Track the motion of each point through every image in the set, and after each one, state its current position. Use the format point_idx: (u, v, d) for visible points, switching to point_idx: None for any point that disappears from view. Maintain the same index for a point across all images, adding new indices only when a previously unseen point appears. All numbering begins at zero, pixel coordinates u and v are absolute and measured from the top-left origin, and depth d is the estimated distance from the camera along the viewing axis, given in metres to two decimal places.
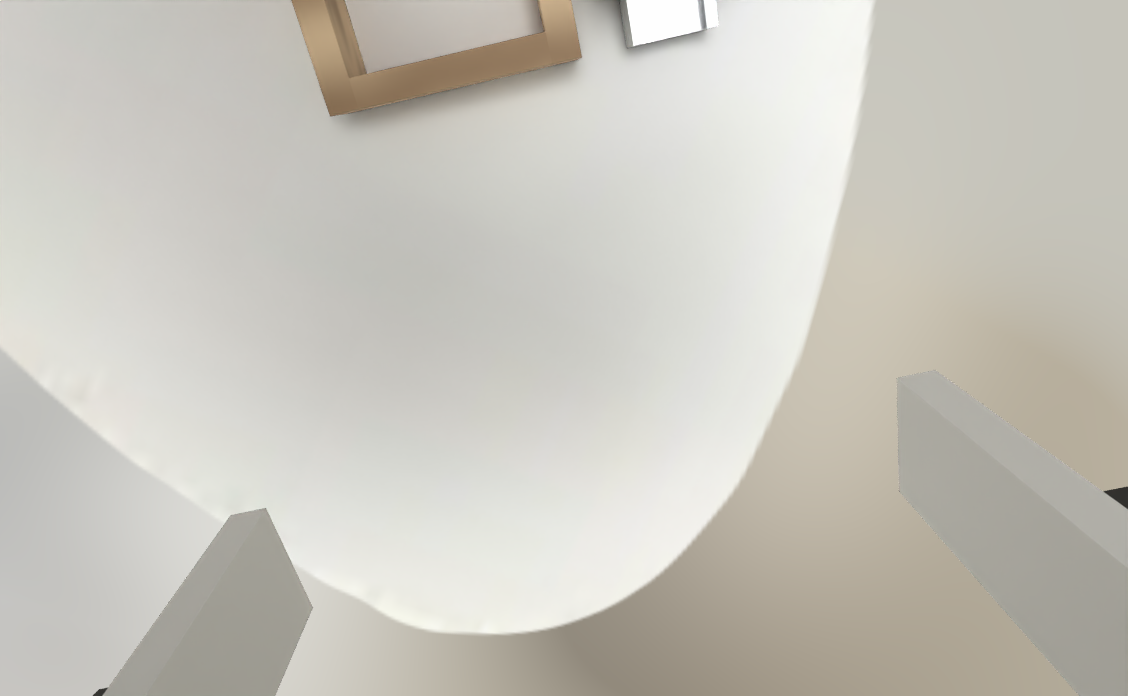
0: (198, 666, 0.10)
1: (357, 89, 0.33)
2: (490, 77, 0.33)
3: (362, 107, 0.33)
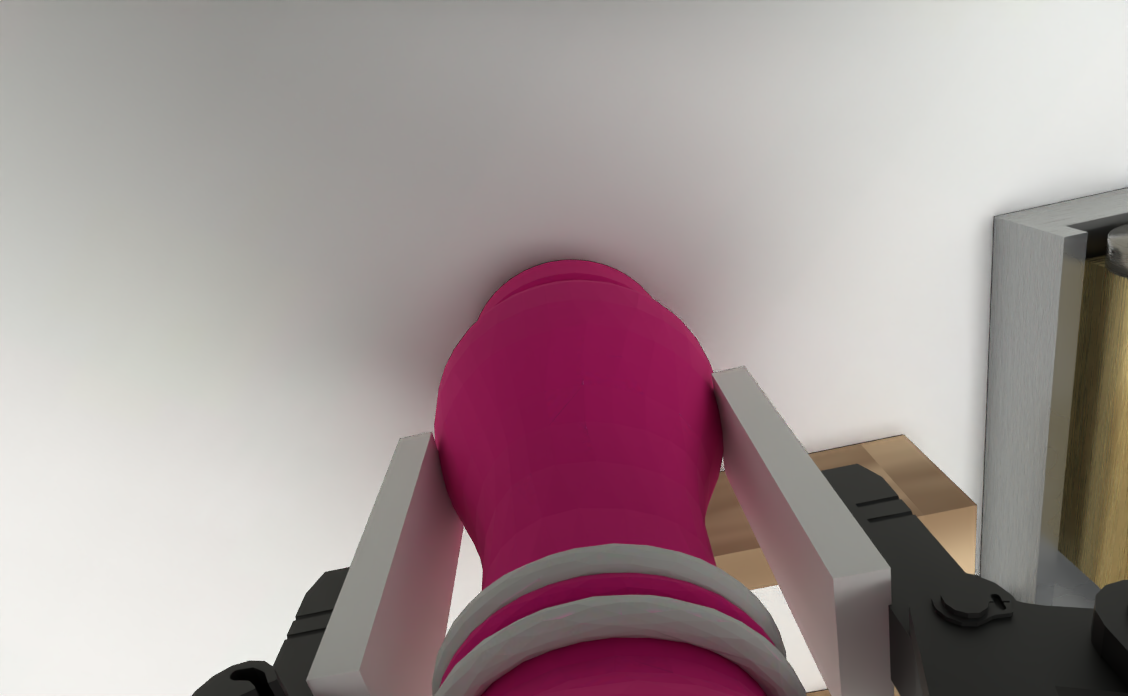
0: (413, 550, 0.12)
1: None
2: None
3: None
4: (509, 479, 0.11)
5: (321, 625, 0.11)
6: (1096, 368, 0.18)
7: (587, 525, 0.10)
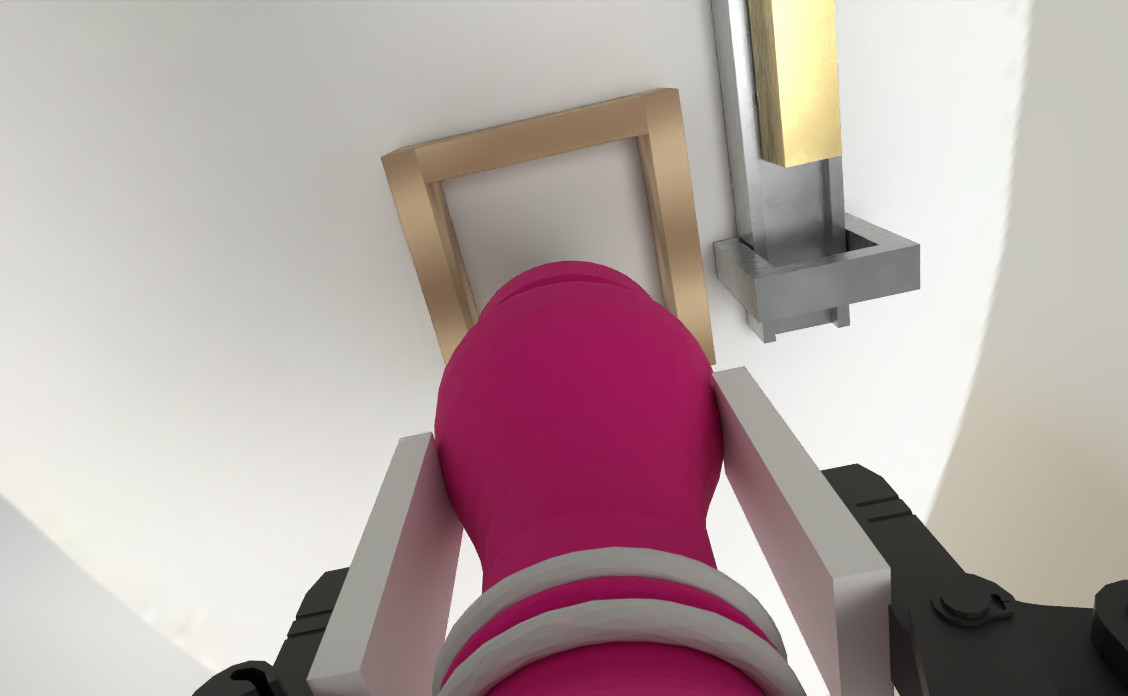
0: (413, 550, 0.12)
1: None
2: None
3: None
4: (509, 481, 0.11)
5: (321, 625, 0.11)
6: None
7: (588, 527, 0.09)
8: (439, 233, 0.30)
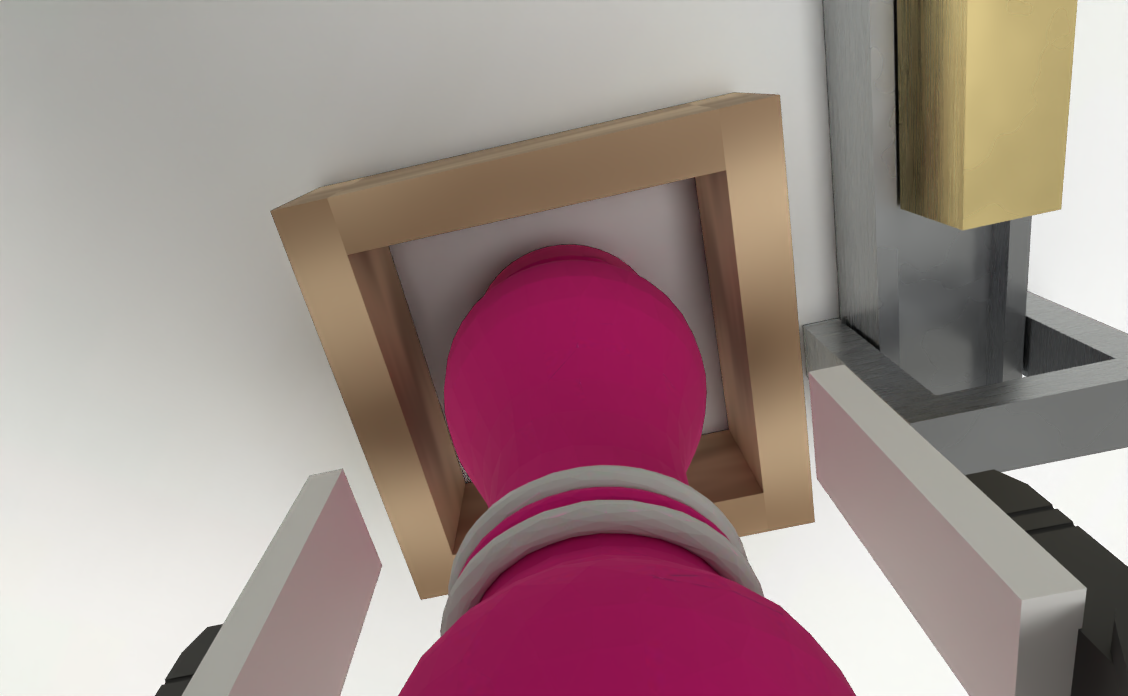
0: (299, 605, 0.11)
1: None
2: None
3: None
4: (512, 427, 0.13)
5: None
6: None
7: (580, 457, 0.11)
8: (375, 331, 0.18)
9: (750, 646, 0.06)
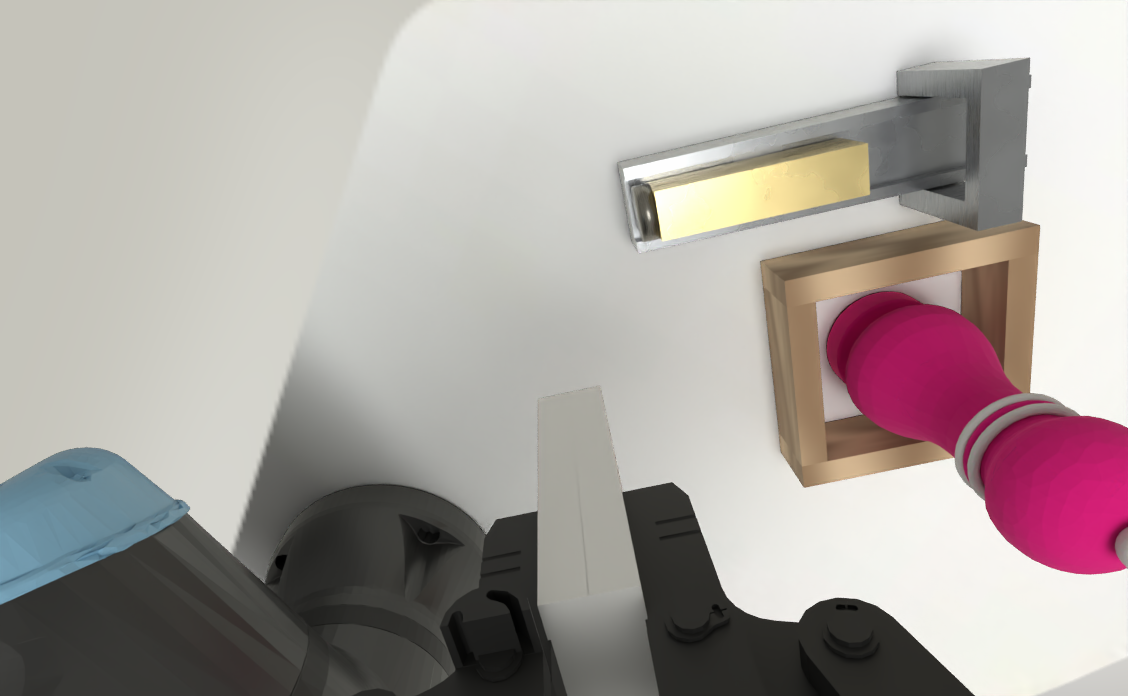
0: None
1: None
2: (1034, 310, 0.35)
3: None
4: (932, 441, 0.31)
5: (513, 565, 0.11)
6: None
7: (951, 439, 0.29)
8: (865, 452, 0.38)
9: (1015, 473, 0.24)
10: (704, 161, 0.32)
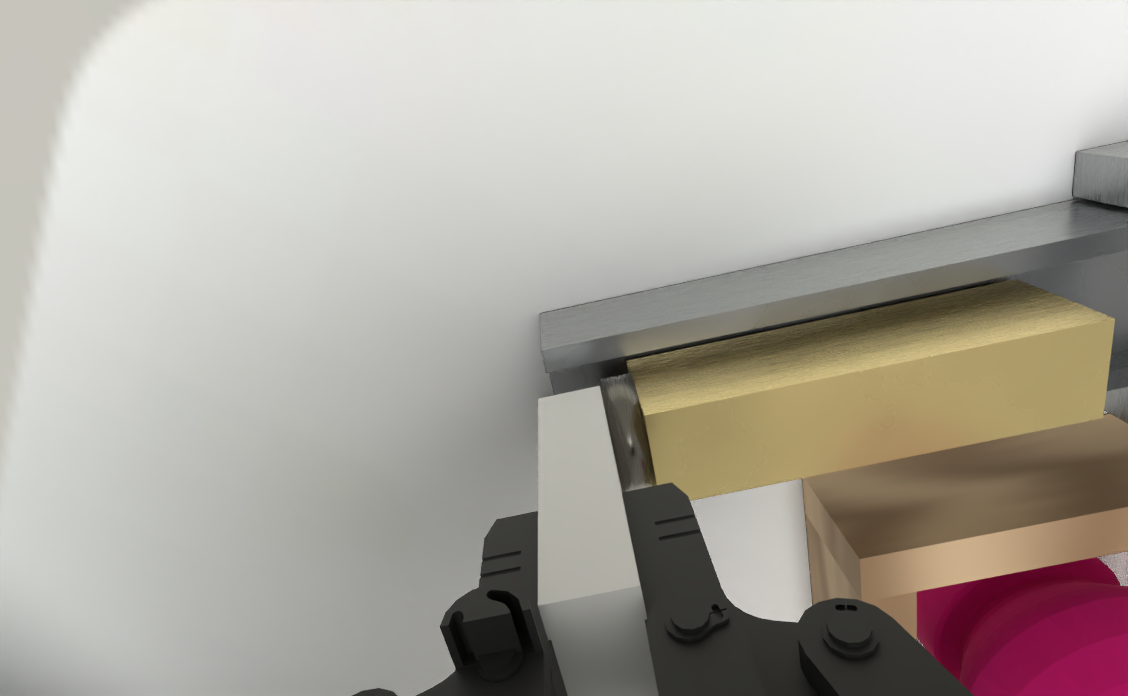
0: None
1: None
2: None
3: None
4: None
5: (513, 565, 0.11)
6: None
7: None
8: None
9: None
10: (705, 336, 0.16)
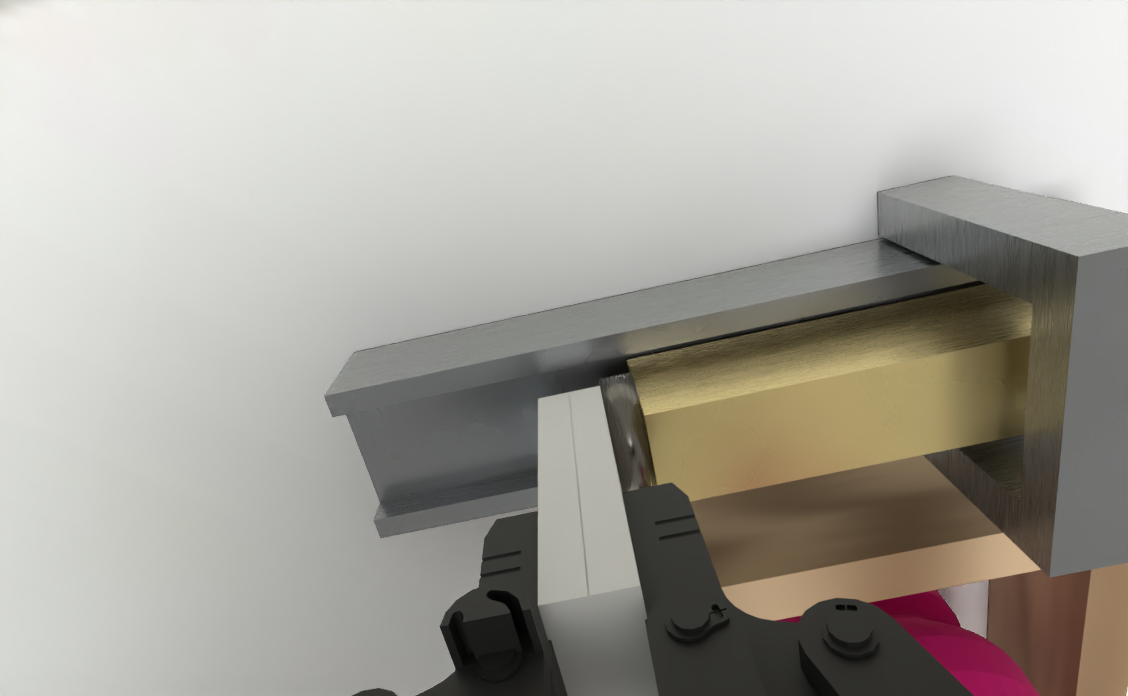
0: None
1: None
2: None
3: None
4: None
5: (513, 565, 0.11)
6: None
7: None
8: None
9: None
10: (488, 381, 0.16)
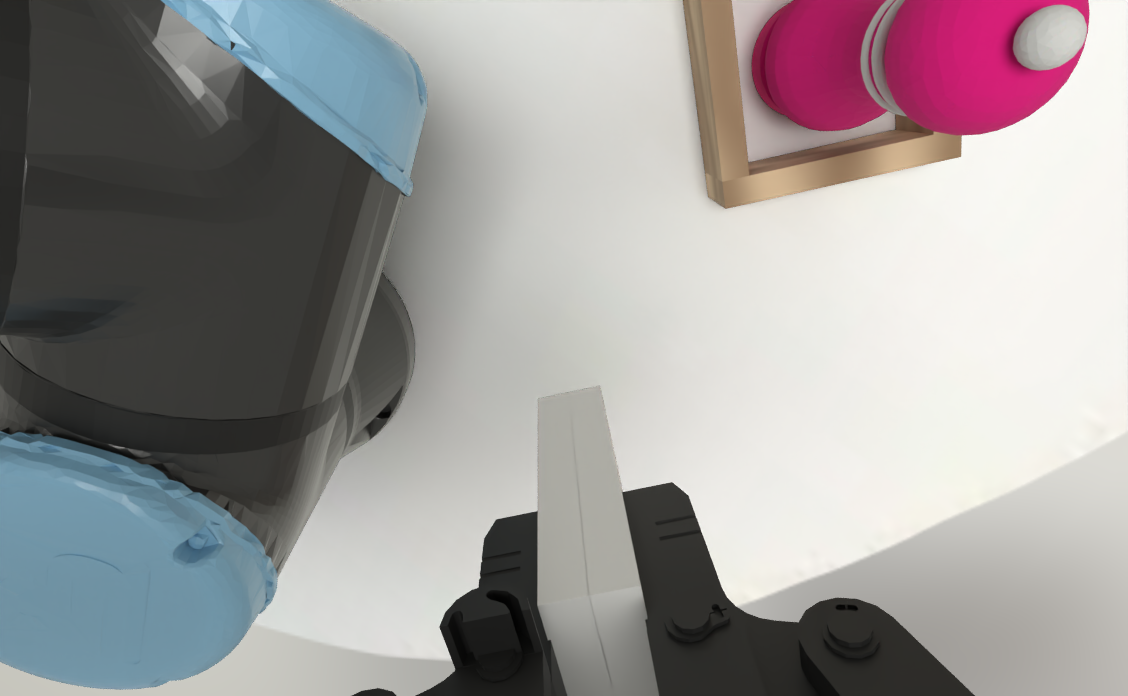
0: None
1: None
2: None
3: None
4: (845, 89, 0.29)
5: (513, 565, 0.11)
6: None
7: (860, 57, 0.27)
8: (789, 166, 0.36)
9: (911, 6, 0.22)
10: None
